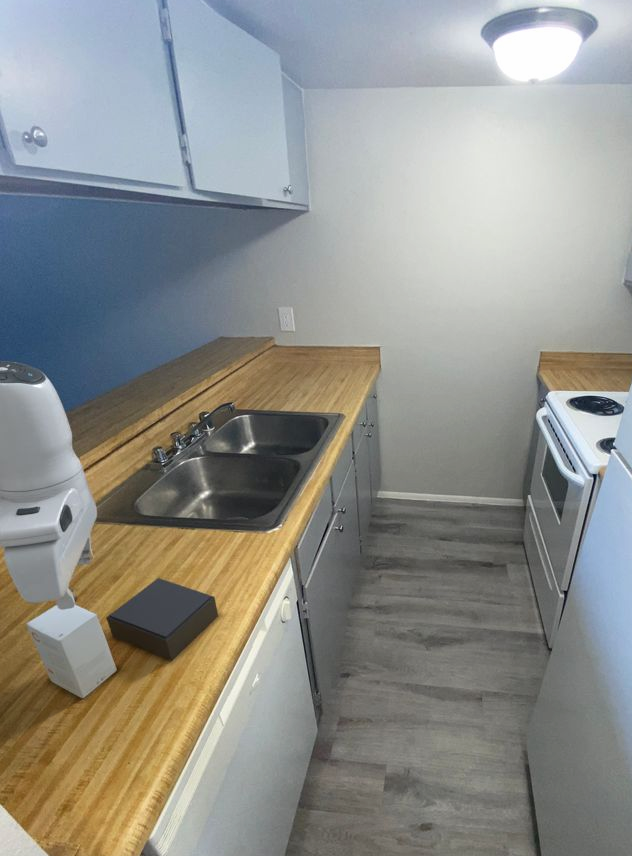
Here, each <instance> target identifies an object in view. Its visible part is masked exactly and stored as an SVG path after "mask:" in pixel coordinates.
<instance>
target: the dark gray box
mask: <svg viewBox="0 0 632 856" xmlns="http://www.w3.org/2000/svg"><path fill="white" fill-rule="evenodd" d="M218 617H219V613H218V608H217V602H216V598H215V596H214V595H211V594H207V593H205V592H201V591H198V590H195V589H193V588H190V587H187V586H184V585H180V584H178V583H175V582H173V581H169V580H166V579H163V578H161V577H157V578H156V579H155V580H153V581H152V582H150V583H149V584H148V585H147V586H146V587H144V588H143V589H141V590H140V591H139V592H137V593H136V594H135V595H134V596H132V597H131V598H129V599H128V600H127V601H126V602H124V603H123V604H122V605H120V606H119V607H118V608H117V609H115V610H114V611H113V612H111V613H110V614H109V615H108V616H106V617H105V619H106V621H107V625H108V627H109V630H110V633H111V637H112V639H116V640H117V641H120V642H123V643H125V644H127V645H130V646H133V647H135V648H137V649H141V650H143V651H145V652H148V653H150V654H152V655H156V656H158V657H160V658H163V659H166V660H168V661H170V662H172V661H174V660H175V659H176V658H177V657H178V656H179V655H180V654H181V653H182V652H183V651H184V650H185V649H186V648H187V647H188V646H189V645H190V644H191V643H192V642H193V641H194V640H195V639H197V637H198V636H199V635H200V634H202V632H203V631H204V630H206V628H208V626H210V625H211V623H213V622H214V621H215V620H216V619H217V618H218Z"/></svg>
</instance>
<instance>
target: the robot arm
mask: <svg viewBox="0 0 632 856" xmlns="http://www.w3.org/2000/svg"><path fill="white" fill-rule="evenodd" d="M50 380H51V379H49V378H48V377H47V376H46V374H45V373H44V372H43V371H41V370H40V369H38V368H36V367H33V366H31V365H29V364H26V363H22V362H15V361H8V360H0V548H3V559H4V564H5V566H6V569H7V572H8V573H9V576H10V578H11V580H12V582H13V584H14V586H15V588H16V590H17V592H18V594H19V595H20V597H21V598H22V599H23V600H24V601H25V602H27V603H29V604H39V603H41V604H42V603H46V602H47V603H48V602H52V601H55V604H56V605H57V606H58V608H59V609H61V610H64V609H70V608H73V607H74V606H75V605H76V603H77V600H78V596H77V594H76V590H75V589H70V588H69V587H70V582H71V580H72V577H73V575H74V573H75V570H76V569H77V565H79V566H84V565H90V564H91V563H92V560H93V558H94V553H93V549H92V535H91V534H92V533H91V532H92V530H93V527H94V526H95V522H96V520H97V519H98V509H97V504H96V502H95V498H94V496H93V494H92V491H91V488H90V485H89V484H88V481H87V478H86V474H85V470H84V467H83V465H82V462H81V460H80V459H79V457H78V456H77V454H76V453H75V451H74V448H73V432H72V429H71V425H70V423H69V420H68V419H69V418H68V417H67V413H66V410H65V407H64V405H63V403H62V401H61V399H60V396H59V394H58V392H57V390H56V388H55V387H54V385H53V383H52V382H51V381H50Z"/></svg>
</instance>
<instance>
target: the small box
mask: <svg viewBox="0 0 632 856" xmlns="http://www.w3.org/2000/svg"><path fill="white" fill-rule="evenodd" d="M25 626H26V627H27V629H28V633H29V634H30V636H31V639H32V641H33V643H34V646H35V648H36V650H37V653H38V655H39V657H40V659H41V662H42V664H43V666H44V668H45V670H46V673H47V675H48V677H49V679H50V682H52V683H53V684H55V685H57V686H59V687H61V688H62V689H65V690H66V691H67V692H69V693H72V694H73V695H75V696H77V697H79V698H81V699H84V698H85V697H87V696H88V695H90V694H91V693H92V692H93V691H94V690H95V689H96V688H98V687H99V686H100V685H101V684H102V683H104V682H105V681H107V680H108V678H110V677H111V676H113V675H114V674H115V673H116V672H117V671H118V670H117V666H116V663H115V660H114V657H113V656H112V652H111V650H110V647H109V644H108V641H107V638H106V636H105V633H104V630H103V627H102V625H101V622H100V619H99V616H98V613H95V612H92V611H90V610H89V609H87V608H84V607H82V606H80V605H77V604H75V606H74V607H73V608H70V609H64V610H61V609H59V608H58V606H57V604H55V605H53V606H52V607H51V608H49V609H48V610H46V611H44V612H43V613H41V614H39V615H38V616H36V617H34V618H33V619H31V620H30V621H28V622H26V625H25Z"/></svg>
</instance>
